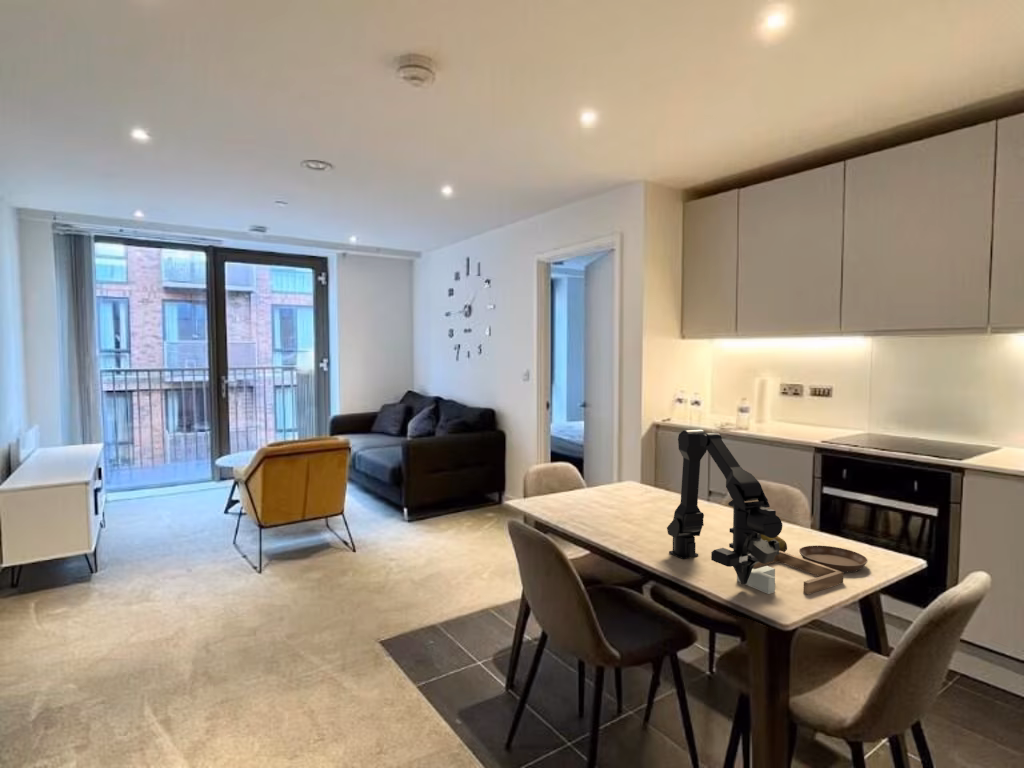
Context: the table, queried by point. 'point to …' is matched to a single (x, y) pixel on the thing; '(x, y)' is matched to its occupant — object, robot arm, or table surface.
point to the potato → (781, 542)
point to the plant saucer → (834, 557)
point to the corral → (826, 574)
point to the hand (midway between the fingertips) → (743, 584)
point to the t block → (762, 579)
